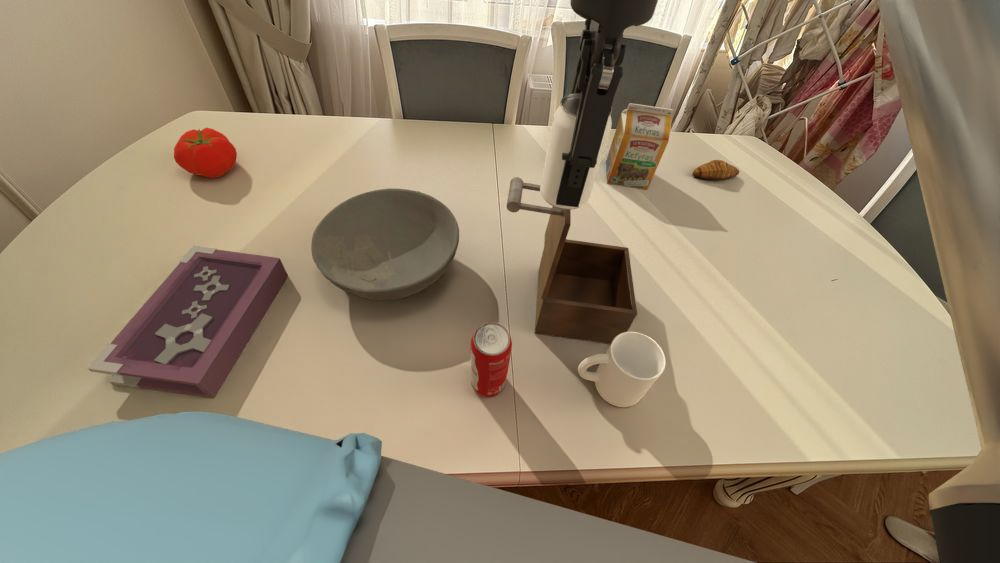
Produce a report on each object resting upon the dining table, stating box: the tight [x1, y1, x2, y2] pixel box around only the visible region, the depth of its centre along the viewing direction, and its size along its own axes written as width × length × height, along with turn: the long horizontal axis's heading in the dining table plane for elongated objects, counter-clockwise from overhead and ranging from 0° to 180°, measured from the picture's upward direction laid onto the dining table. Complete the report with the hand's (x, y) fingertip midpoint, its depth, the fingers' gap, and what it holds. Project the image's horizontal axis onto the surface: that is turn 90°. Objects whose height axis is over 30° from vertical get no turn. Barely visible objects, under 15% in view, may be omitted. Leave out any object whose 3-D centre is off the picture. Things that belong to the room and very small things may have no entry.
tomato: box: [173, 127, 238, 179], centre depth 94 cm, size 13×12×8 cm
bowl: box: [310, 188, 460, 301], centre depth 78 cm, size 26×26×10 cm
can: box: [539, 93, 613, 210], centre depth 48 cm, size 6×6×12 cm
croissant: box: [692, 159, 740, 181], centre depth 111 cm, size 14×7×5 cm, turn 98°
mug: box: [577, 331, 666, 408], centre depth 65 cm, size 12×8×10 cm
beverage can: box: [470, 322, 513, 398], centre depth 61 cm, size 6×6×15 cm
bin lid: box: [506, 176, 572, 299], centre depth 65 cm, size 16×16×9 cm
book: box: [86, 245, 289, 399], centre depth 68 cm, size 25×16×5 cm, turn 174°
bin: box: [534, 238, 638, 345], centre depth 75 cm, size 16×16×10 cm
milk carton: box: [605, 102, 674, 191], centre depth 102 cm, size 10×11×19 cm
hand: (566, 185), depth 52 cm, fingers closed on can, 6 cm apart
